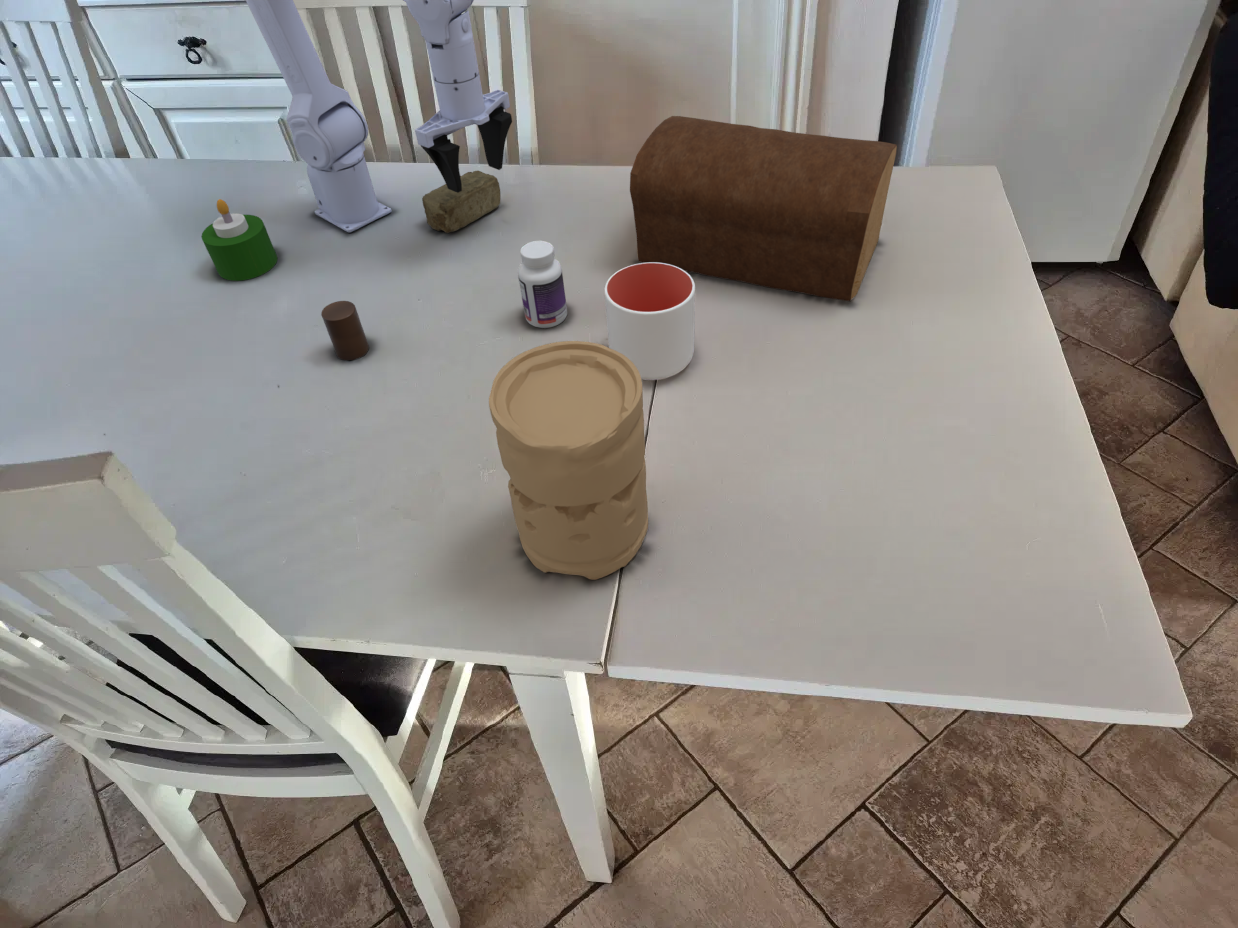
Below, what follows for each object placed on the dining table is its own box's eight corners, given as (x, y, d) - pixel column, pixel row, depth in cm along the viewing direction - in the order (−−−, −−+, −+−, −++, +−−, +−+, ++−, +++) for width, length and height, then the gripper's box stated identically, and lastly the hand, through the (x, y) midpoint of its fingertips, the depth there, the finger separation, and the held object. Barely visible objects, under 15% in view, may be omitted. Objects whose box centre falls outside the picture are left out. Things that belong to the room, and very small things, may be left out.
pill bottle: (574, 309, 104) (567, 241, 97) (555, 333, 101) (546, 265, 94) (538, 300, 106) (528, 233, 99) (517, 323, 103) (505, 256, 96)
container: (655, 574, 75) (650, 434, 62) (519, 587, 74) (485, 449, 61) (641, 475, 83) (634, 334, 70) (519, 487, 83) (490, 347, 70)
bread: (677, 204, 121) (677, 94, 110) (880, 238, 112) (904, 122, 100) (630, 268, 110) (625, 153, 98) (851, 311, 101) (874, 190, 89)
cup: (703, 339, 98) (705, 268, 91) (680, 392, 92) (680, 319, 85) (625, 327, 101) (621, 256, 94) (597, 377, 95) (591, 305, 87)
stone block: (505, 206, 124) (500, 175, 120) (449, 239, 118) (442, 208, 114) (479, 195, 126) (473, 165, 123) (423, 227, 121) (415, 196, 117)
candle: (231, 287, 112) (200, 222, 105) (208, 264, 116) (177, 200, 109) (287, 263, 115) (261, 199, 108) (262, 242, 120) (236, 178, 113)
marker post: (330, 352, 101) (314, 312, 96) (356, 336, 103) (342, 296, 98) (348, 364, 99) (333, 324, 94) (375, 348, 101) (361, 308, 96)
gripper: (433, 102, 95) (456, 209, 105) (519, 62, 102) (533, 165, 112) (394, 89, 98) (420, 193, 108) (481, 51, 106) (497, 152, 116)
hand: (475, 178), depth 110 cm, fingers open, 7 cm apart
